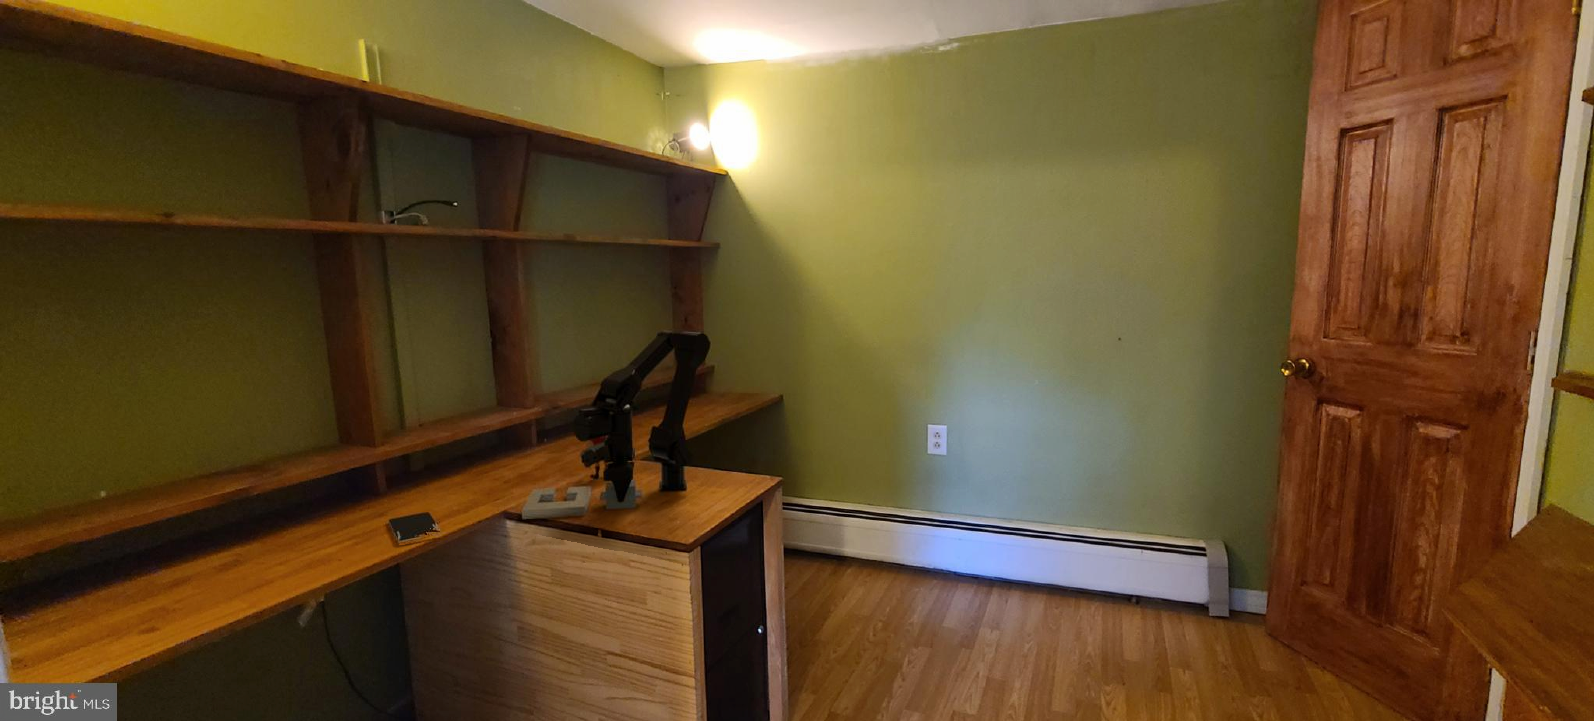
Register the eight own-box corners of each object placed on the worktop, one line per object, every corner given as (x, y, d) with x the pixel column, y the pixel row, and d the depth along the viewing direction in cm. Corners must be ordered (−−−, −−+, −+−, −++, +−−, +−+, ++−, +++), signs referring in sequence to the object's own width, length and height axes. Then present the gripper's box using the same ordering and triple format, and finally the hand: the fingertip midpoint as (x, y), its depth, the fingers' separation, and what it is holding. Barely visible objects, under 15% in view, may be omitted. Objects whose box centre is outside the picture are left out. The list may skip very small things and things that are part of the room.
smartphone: (428, 511, 147) (442, 533, 135) (429, 517, 147) (442, 539, 135) (388, 519, 142) (398, 542, 130) (388, 525, 142) (399, 548, 130)
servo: (602, 498, 158) (601, 477, 158) (642, 495, 160) (641, 475, 160) (599, 509, 151) (599, 488, 150) (641, 507, 153) (641, 485, 152)
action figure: (615, 470, 179) (614, 415, 177) (621, 474, 176) (620, 418, 174) (581, 477, 173) (579, 420, 171) (586, 481, 170) (584, 423, 168)
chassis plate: (533, 497, 158) (533, 489, 158) (590, 494, 161) (590, 486, 161) (522, 519, 145) (521, 510, 144) (585, 515, 147) (584, 506, 147)
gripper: (586, 424, 159) (588, 487, 161) (577, 444, 141) (580, 515, 143) (634, 422, 161) (636, 485, 163) (632, 442, 143) (633, 512, 145)
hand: (621, 498), depth 154 cm, fingers closed on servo, 4 cm apart
